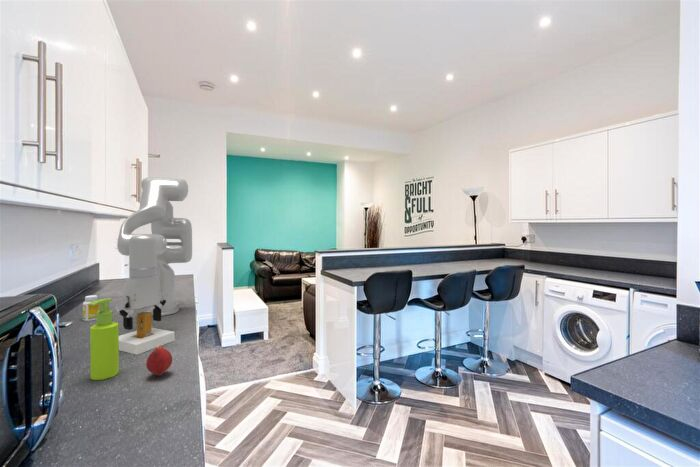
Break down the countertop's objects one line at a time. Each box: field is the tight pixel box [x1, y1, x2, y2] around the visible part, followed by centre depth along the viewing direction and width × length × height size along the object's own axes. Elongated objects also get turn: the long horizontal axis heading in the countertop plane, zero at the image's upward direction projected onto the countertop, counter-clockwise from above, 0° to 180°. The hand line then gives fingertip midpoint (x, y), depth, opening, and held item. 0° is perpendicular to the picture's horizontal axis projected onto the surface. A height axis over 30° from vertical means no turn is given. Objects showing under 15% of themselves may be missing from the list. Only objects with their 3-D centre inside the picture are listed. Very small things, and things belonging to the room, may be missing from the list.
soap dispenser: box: [87, 297, 120, 381], centre depth 83 cm, size 6×7×20 cm
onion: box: [145, 345, 173, 377], centre depth 84 cm, size 6×6×8 cm
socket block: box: [119, 327, 176, 355], centre depth 105 cm, size 13×13×3 cm
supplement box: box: [136, 311, 153, 339], centre depth 106 cm, size 3×3×10 cm
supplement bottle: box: [82, 294, 100, 322], centre depth 132 cm, size 5×5×10 cm
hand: (143, 324), depth 106 cm, fingers open, 9 cm apart
